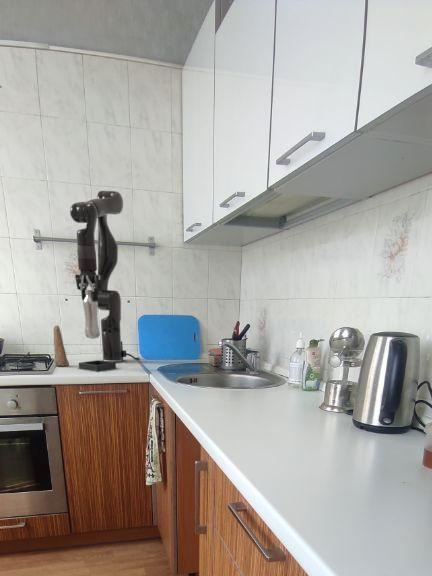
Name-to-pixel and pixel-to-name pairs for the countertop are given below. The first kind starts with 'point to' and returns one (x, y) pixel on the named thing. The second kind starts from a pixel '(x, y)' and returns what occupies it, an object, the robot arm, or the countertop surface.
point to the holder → (97, 365)
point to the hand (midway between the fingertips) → (89, 300)
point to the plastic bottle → (91, 316)
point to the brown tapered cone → (59, 348)
